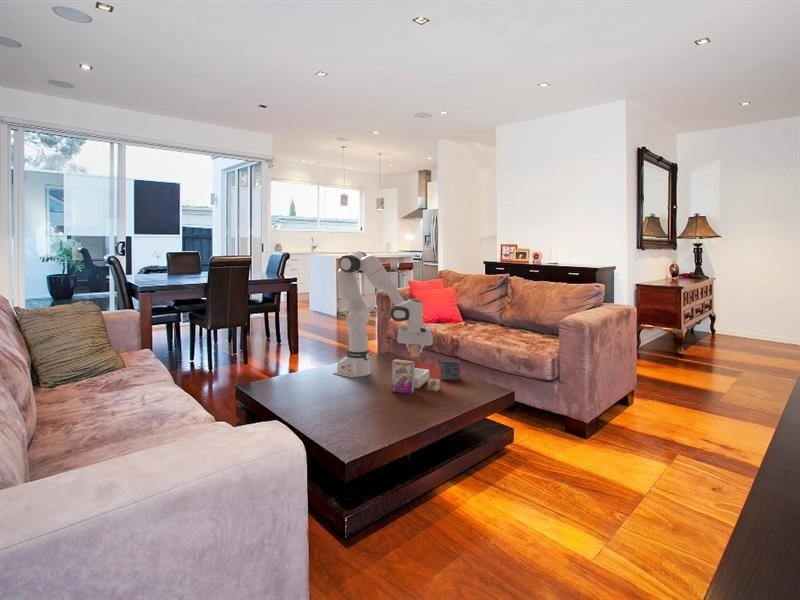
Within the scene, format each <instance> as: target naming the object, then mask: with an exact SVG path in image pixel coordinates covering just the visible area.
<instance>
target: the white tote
mask: <svg viewBox="0 0 800 600" xmlns="http://www.w3.org/2000/svg"><path fill="white" fill-rule="evenodd" d="M429 380H430V369H425V368H416V367H415V370H414V389H420V388H421V387H423V385H424V384H426V383H428V381H429Z"/></svg>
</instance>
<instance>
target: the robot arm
mask: <svg viewBox="0 0 800 600" xmlns="http://www.w3.org/2000/svg"><path fill="white" fill-rule="evenodd" d="M338 267H339V269H338V270H337V272H336V280H337V285H338V289H339V292H340V294H341V298H342V300H343V303H344V305H345V306H346V308H347V309H348V313H347V315H346V317H345V323H346V325H347V326H346V327H347V332H348V344H349V345H348V346H349V349H348V350H347V351H345V354H346V356H344V357H343V358H341V359H340V360H339V361H338V362H337V364H336V365H337V366H336V368H335V369H334V370H333V371H332V372H333V373H332V374H334V375H338V376H343V377H346V378H357V377H367V376H370V375H371V374H372V372H371V368H370V367H371V366H370V362H369V360H370V351H369V336H368V332H367V323H369V321H370V318H371V312H370V310H369V309H368V307H367V304H366V302H365V300H364V298H363V296H362V292H361V289H360V286H359V284H358V281H357V276H356V275H357V273H360V272H361V271H362V272H363V273H364V275H365V276H366V278H367V280H368V281H369V283H370V284H371V285H372V286H373V287H374V288H375V289H377V290H381V292H382V291H383V292H385V294H386V295H387V296H388V298H389V299H390V300H391V302H392V303H393V305H394V306H393V307H392V308H391V309H390V311H389V313H390V315H389V316H390V317H391V319H392V320H393V321H395V322H405V321H406V326H400V327H398V328H397V343H398V344H405V346H406V348H407V352H409V353H410V344H415V345H419V354H421V353H423V348H424V347H425V346H426V347H427V346H429V347H430V346H432V345H433V343H434V339H433V338H434V337H433V333H432V332H431V331H432V327H430V326H428V325H426V324H424V320H423V316H424V307H423V302H422V300H420V299H417V298H409V299H404V297H403V296H402V294H401V293H400V291H399V290H398V289H397V286H396V285H395V283H394V282H393V281H392V279H391V277H390V276H389V274H388V272H387V270H386V268H385V267H384V265H383V263H382V262H381V261H380V260H379V258H377V256H375V255H374V254H368V255H367V254H366V253H365V252H363V251H352V252H349V253H345V254H343V255H342V256H340V259H339V261H338Z"/></svg>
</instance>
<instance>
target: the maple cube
mask: <svg viewBox="0 0 800 600" xmlns="http://www.w3.org/2000/svg"><path fill="white" fill-rule="evenodd" d="M440 382H441V379H438V378H437V379H436V378H429V380H428V381H427V391H433V392H438V391H439V390H440V385H441V383H440Z"/></svg>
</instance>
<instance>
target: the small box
mask: <svg viewBox="0 0 800 600" xmlns="http://www.w3.org/2000/svg"><path fill="white" fill-rule="evenodd" d="M449 380H450V381H452V382H453V381H455V382H459V381H460V360H455V359H454V360H453V359H452V360H450V359H441V360H440V381H449Z"/></svg>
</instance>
